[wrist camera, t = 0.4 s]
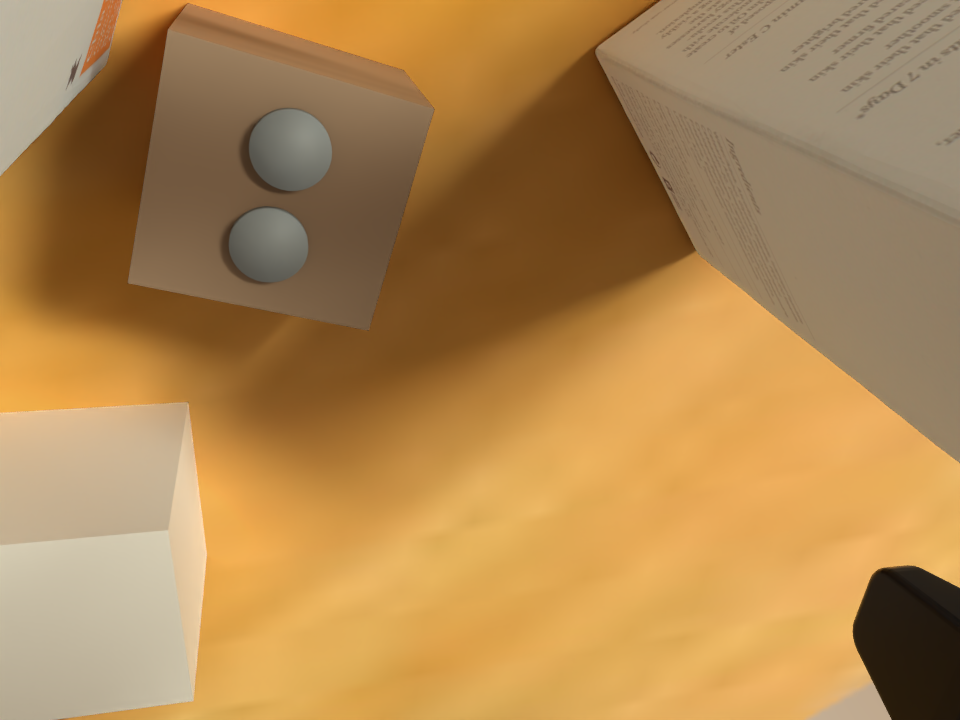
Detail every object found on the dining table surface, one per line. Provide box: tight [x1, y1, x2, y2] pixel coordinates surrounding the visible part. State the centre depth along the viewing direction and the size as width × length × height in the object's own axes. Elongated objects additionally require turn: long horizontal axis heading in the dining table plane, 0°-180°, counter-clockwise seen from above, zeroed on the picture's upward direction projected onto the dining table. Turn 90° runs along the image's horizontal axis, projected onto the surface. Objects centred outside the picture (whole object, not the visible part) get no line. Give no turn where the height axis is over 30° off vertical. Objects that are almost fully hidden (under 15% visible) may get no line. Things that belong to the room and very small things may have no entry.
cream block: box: [0, 402, 207, 720], centre depth 19 cm, size 5×5×5 cm
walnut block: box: [128, 3, 434, 331], centre depth 16 cm, size 4×4×4 cm
